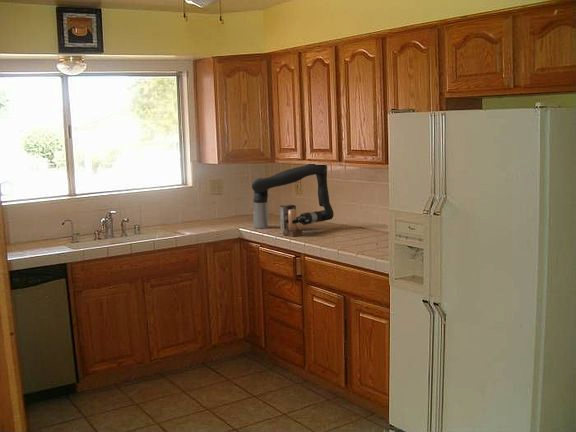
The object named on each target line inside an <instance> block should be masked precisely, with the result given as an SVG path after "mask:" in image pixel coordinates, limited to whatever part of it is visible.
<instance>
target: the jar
mask: <svg viewBox="0 0 576 432" xmlns="http://www.w3.org/2000/svg"><path fill="white" fill-rule="evenodd" d="M296 217H297V209H296V210H295V209H290V210H288V221H289V231H291V232H294V231H297V230H298V229H297V228H298V223H295V224H293V223H292V220H296Z"/></svg>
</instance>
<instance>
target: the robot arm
mask: <svg viewBox="0 0 576 432" xmlns="http://www.w3.org/2000/svg"><path fill="white" fill-rule="evenodd" d="M314 175H315V176H316V180H317V199H318V206H320V207H323V208H324V209H323V210H319V211H318V210H316V211H307V212H303V213H301V214H300V215H299V216H298V215H296V220H292V223H293V224H295V223H297V224H301V225H304V226H307V225H311V224H312V225H313V224H314V223H319V222H325V221H330V220H333V218H334V215H335V214H334V213H335V212H334V210H333V207H332V205H331V202H330V193H329V188H328V179H327V178H328V165H327V164H326V165H315V164H310V163H308V164H306V165H302V166H298V167H297V166H296V167H294V168H289V169H286V170H283V171H279V172H278V173H276V174H274V175H272V176H269V177H264V178H262V177H259V178H256V179H254V180H253V182H252V183H251V189H252V190H253V192H254V193H253V214H252V217H253V219H252V220H253V221H252V222H253V228H255V229H268V228H269V212H268V209H269V208H268V197H269V193H268V191H269V190H270V189H273V188H276V187H282V186H286V185H290V184H294V183H297V182H298V181H301V180H302V179H305V178H306V177H310V176H314ZM286 223H289V221H288V219H286Z"/></svg>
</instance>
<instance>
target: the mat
mask: <svg viewBox="0 0 576 432" xmlns="http://www.w3.org/2000/svg"><path fill="white" fill-rule="evenodd" d="M302 233H303V234H304V235H315V234H320V233H321V231H319V230H318V231H316V230H307V231H302Z"/></svg>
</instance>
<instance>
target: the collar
mask: <svg viewBox="0 0 576 432" xmlns="http://www.w3.org/2000/svg"><path fill="white" fill-rule="evenodd" d="M282 231H283V230H282ZM302 232H303V229H297V231H294V232H291V231H289V230H285V231H283V236H284V237H290V238H295V237H300V236H303V233H302Z"/></svg>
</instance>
